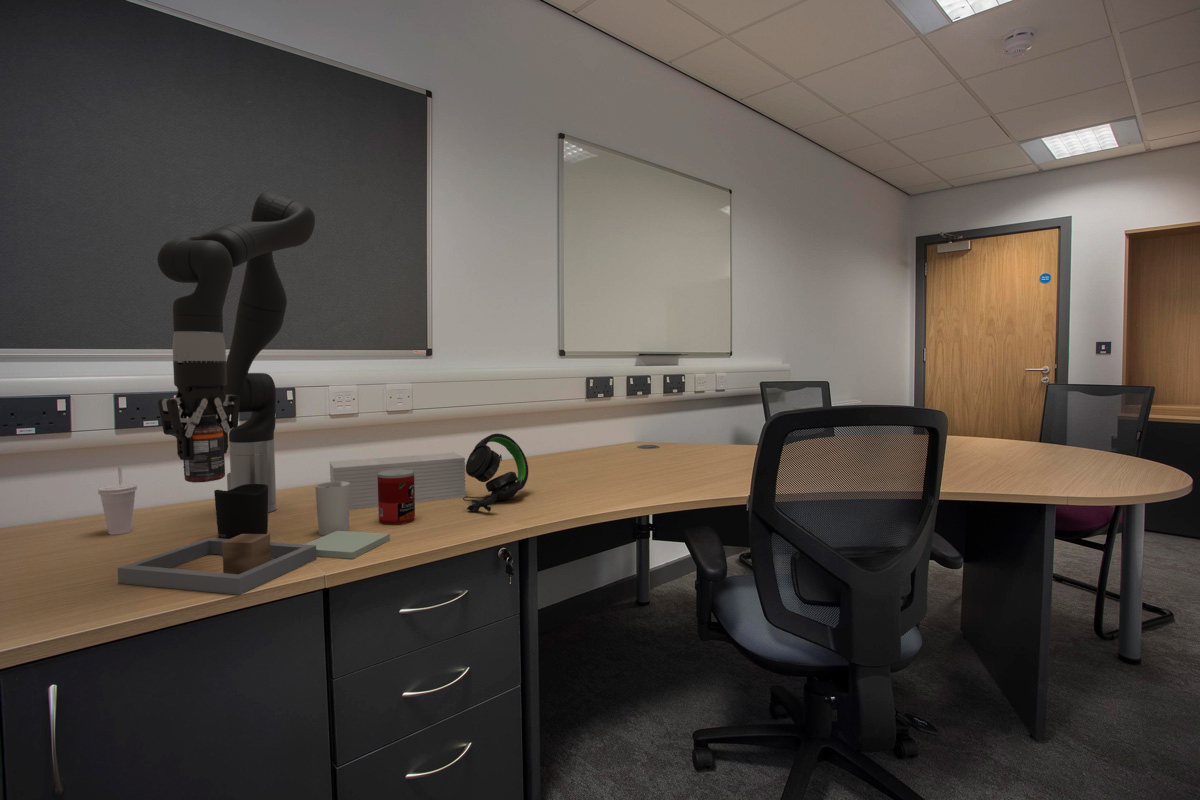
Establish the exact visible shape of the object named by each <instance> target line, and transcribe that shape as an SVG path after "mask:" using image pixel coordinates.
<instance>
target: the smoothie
mask: <svg viewBox="0 0 1200 800" xmlns="http://www.w3.org/2000/svg"><path fill="white" fill-rule="evenodd" d="M117 469H118V471H117V472H118V484H113V485H106V486H102V487H100V488H98V491H97V494H98V495H100V499H101V503H102V505H101V506H102V509H103V510H102V511H103V512H104V513H103V514H104V519H105V522H106V527H107V532H108V535H109V534H110V535H111V536H115V535H123V534H128V533H130V532H132V527H133V526H132V525H133V517H134V506H135V497H136V491H137V490H138V487H137V484H134V483H123V474H122V473H123V471H122V469H123V468H122V465H117Z"/></svg>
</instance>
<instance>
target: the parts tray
mask: <svg viewBox="0 0 1200 800" xmlns="http://www.w3.org/2000/svg"><path fill="white" fill-rule="evenodd" d="M227 540H229V539H221V538H219V537H207V538H205V539H201V540H198V541H195V542H192V543H189V544H186V545H183V546H179V547H177V548H174V549H171V550H168V551H165V552H161V553H159V554H155V555H153V556H149V557H147V558H144V559H140V560H138V561H134V562H131V563H129V564H125V565H122V566H119V567H117V581H118V582H117V583H118V584H125V585H133V586H136V585H137V586H145V587H155V588H163V589H175V590H184V591H197V592H205V593H207V592H208V593H216V594H227V595H237V596H240V595H243V594H245V593H246V592H249V591H251V590H253V589H255V588H257V587H260V586H261V585H264V584H266V583H268V582H270V581H273V580H274V579H277V578H279V577H281V576H284V575H286V574H287V572H288V573H289V572H292V571H293V570H296V569H299V568H301V567H302V565H303V566H304V564H305V565H307V564H309V563H311V562H313V561H316V560H317V559H318V558H317V557H318V556H316V545H304V544H301V543H300V544H299V543H288V542H273V541H270V551H271V561H269V562H267V563H264V564H262V565H260V566H257V567H255V568H253V569H250V570H248V571H246V572H243V573H241V574H228V573H223V572H213V571H203V570H191V569H180V568H175V567H177V566H180V565H183V564H186V563H188V562H191V561H193V560H197V559H199V558H203V557H205V556H208V555H220V556H221V555H222V556H223V551H222V542H224V541H227Z"/></svg>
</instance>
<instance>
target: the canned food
mask: <svg viewBox="0 0 1200 800" xmlns="http://www.w3.org/2000/svg"><path fill="white" fill-rule="evenodd" d="M415 503H416V502H415V486H414V471H412V470H405V469H397V470H386V471H382V472H379V473H378V506H377V507H378V510H377V511H378V519H379V522H380V523H381V524H383V525H403V524H407V523H411V522H413V521H414V520H415V517H416V504H415Z"/></svg>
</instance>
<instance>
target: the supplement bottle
mask: <svg viewBox="0 0 1200 800" xmlns="http://www.w3.org/2000/svg"><path fill="white" fill-rule="evenodd" d="M187 418H189V417H187ZM216 421H217V420H216V415H215V414H212V415H204V416H201V419H200V421H199V424H198V425H196V426H195V428H194V431H193V434H192V436H191V437H190V438H193V447H194V458H193V459H192V460H182V461H183V473H184V474H183V476H184V481H186V482H189V483H195V484H197V483H198V484H199V483H209V482H213V481H214V482H215V481H219V480H222V479H224V478H225V477H226V466H225V465H226V462H225V461H226V460H225V459H226V458H225V454H224V438H223V429H222V428H221V427H220V426H218V425H217V423H216ZM184 430H185V429H184Z"/></svg>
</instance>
